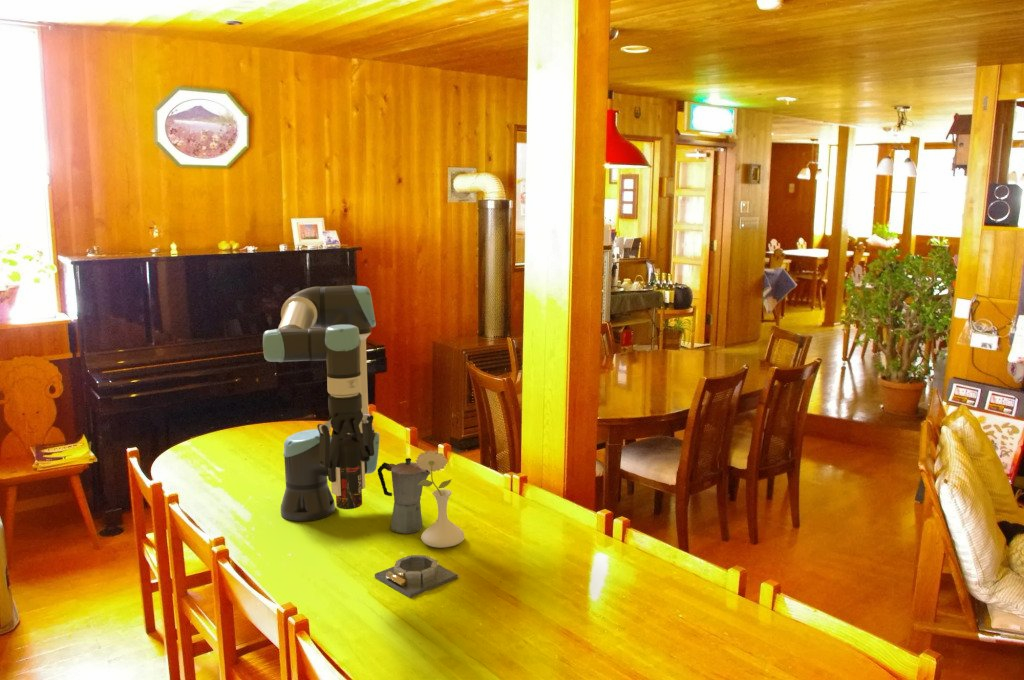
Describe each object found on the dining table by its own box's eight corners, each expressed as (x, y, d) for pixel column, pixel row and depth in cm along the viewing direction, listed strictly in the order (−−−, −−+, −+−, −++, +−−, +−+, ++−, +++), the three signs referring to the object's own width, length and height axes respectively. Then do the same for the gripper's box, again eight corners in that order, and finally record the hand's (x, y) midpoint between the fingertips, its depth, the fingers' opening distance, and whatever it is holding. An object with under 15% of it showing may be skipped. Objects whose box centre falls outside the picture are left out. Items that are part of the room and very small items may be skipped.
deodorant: (337, 500, 195) (335, 438, 193) (363, 499, 196) (361, 438, 193) (334, 509, 190) (332, 446, 187) (361, 508, 190) (358, 446, 187)
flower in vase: (471, 537, 221) (470, 446, 217) (454, 554, 211) (453, 460, 206) (426, 530, 225) (424, 442, 221) (408, 547, 215) (405, 454, 210)
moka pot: (426, 537, 221) (425, 465, 218) (372, 532, 224) (369, 461, 221) (437, 523, 230) (435, 454, 227) (384, 519, 233) (382, 450, 230)
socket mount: (374, 577, 198) (374, 563, 197) (421, 559, 208) (421, 546, 207) (410, 598, 188) (409, 583, 188) (457, 578, 198) (457, 564, 197)
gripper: (316, 404, 179) (321, 505, 183) (388, 389, 192) (391, 484, 196) (298, 397, 184) (303, 496, 188) (370, 383, 197) (373, 476, 201)
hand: (348, 490), depth 192 cm, fingers closed on deodorant, 6 cm apart
